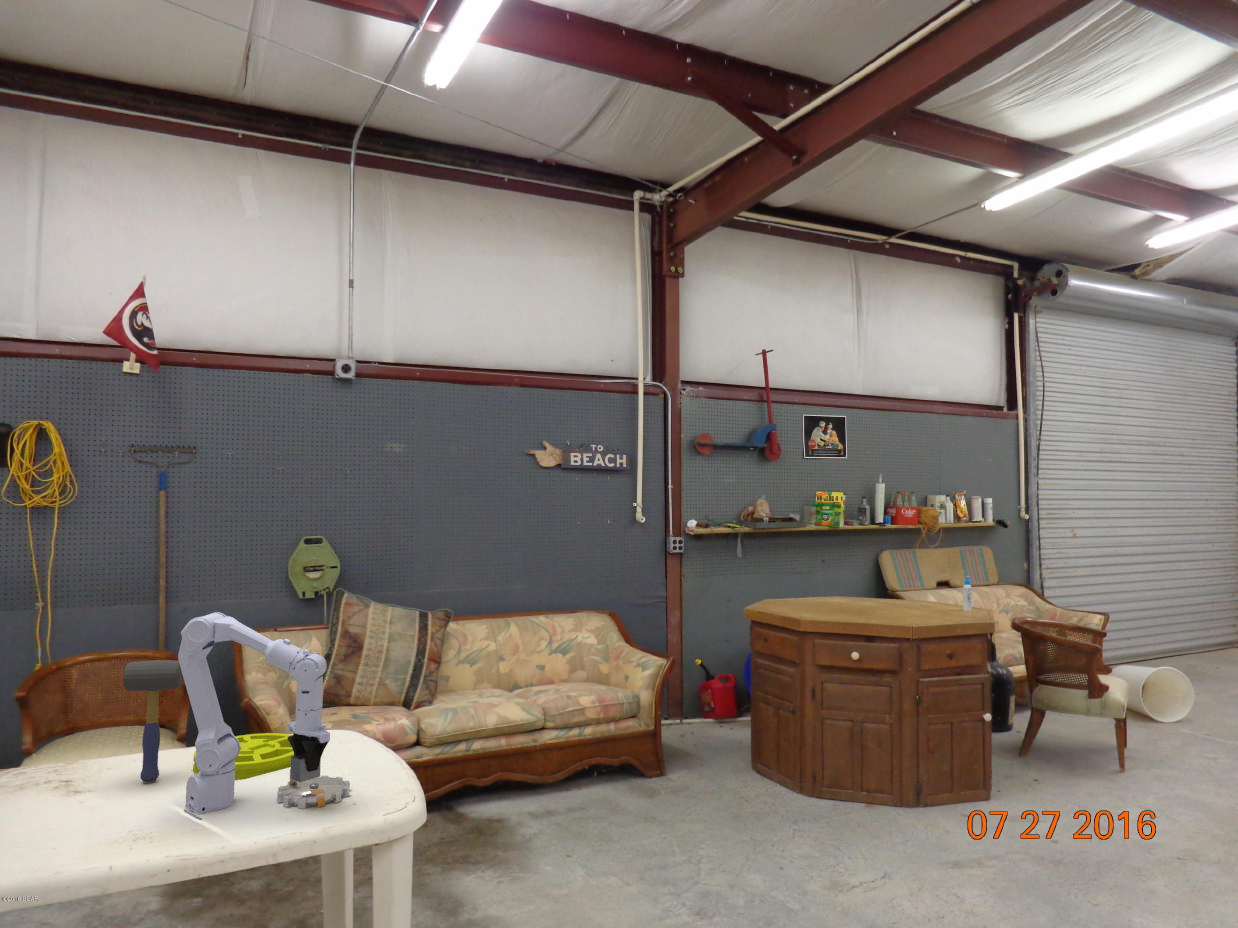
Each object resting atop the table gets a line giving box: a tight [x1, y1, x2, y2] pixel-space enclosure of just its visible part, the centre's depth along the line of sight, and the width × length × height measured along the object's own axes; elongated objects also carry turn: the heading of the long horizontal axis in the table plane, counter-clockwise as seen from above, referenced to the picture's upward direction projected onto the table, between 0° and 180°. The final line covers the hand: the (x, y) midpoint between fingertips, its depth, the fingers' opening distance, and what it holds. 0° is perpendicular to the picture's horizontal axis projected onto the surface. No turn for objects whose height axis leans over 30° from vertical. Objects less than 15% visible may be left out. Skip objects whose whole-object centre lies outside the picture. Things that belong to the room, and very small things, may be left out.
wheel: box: [276, 768, 351, 810], centre depth 191 cm, size 16×16×6 cm
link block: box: [289, 752, 322, 782], centre depth 185 cm, size 5×4×5 cm
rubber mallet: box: [122, 659, 184, 784], centre depth 202 cm, size 12×8×30 cm, turn 107°
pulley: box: [192, 732, 294, 781], centre depth 218 cm, size 28×28×5 cm
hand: (307, 768), depth 185 cm, fingers closed on link block, 4 cm apart
